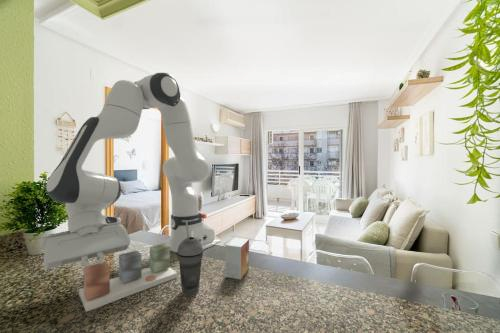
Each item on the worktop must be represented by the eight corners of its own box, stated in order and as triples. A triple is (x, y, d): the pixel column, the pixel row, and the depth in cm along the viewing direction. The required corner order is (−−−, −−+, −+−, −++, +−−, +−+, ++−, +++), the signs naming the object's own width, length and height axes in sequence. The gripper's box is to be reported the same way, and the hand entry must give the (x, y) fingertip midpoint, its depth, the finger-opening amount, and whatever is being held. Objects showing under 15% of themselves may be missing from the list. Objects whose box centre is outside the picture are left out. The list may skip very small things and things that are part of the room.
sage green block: (164, 263, 79) (164, 243, 79) (169, 267, 76) (169, 246, 76) (149, 268, 75) (149, 247, 75) (154, 272, 72) (154, 250, 72)
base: (163, 266, 81) (163, 261, 81) (177, 277, 74) (177, 271, 73) (79, 294, 64) (79, 288, 64) (86, 311, 57) (85, 304, 57)
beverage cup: (196, 301, 61) (197, 226, 61) (171, 297, 63) (171, 225, 62) (207, 286, 69) (207, 219, 68) (184, 283, 70) (184, 218, 69)
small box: (241, 280, 72) (241, 247, 72) (224, 277, 74) (224, 244, 74) (249, 269, 80) (249, 238, 79) (234, 266, 82) (234, 237, 81)
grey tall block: (136, 272, 73) (136, 250, 72) (141, 277, 70) (141, 254, 69) (119, 277, 69) (119, 254, 69) (123, 283, 66) (123, 259, 66)
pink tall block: (106, 286, 64) (105, 261, 64) (109, 292, 62) (109, 266, 61) (84, 293, 61) (83, 267, 61) (87, 300, 58) (86, 273, 58)
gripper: (41, 229, 61) (43, 280, 54) (125, 216, 75) (136, 255, 68) (40, 241, 64) (43, 291, 57) (121, 227, 78) (131, 265, 72)
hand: (94, 271), depth 63 cm, fingers closed, pressing on pink tall block
